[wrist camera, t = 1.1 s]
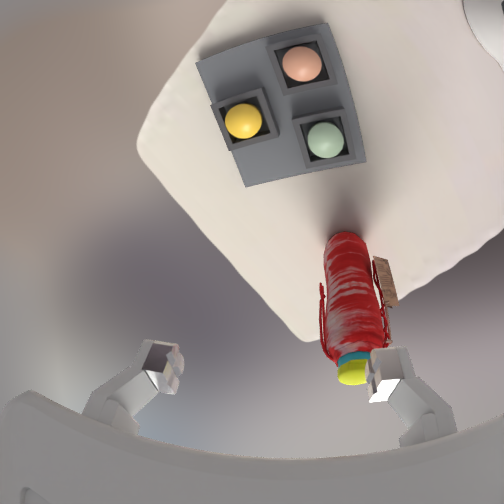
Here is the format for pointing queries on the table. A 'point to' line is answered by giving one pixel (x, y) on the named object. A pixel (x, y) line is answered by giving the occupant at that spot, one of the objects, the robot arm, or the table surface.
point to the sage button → (325, 139)
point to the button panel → (283, 104)
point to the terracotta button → (302, 63)
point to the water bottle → (354, 306)
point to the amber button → (244, 120)
